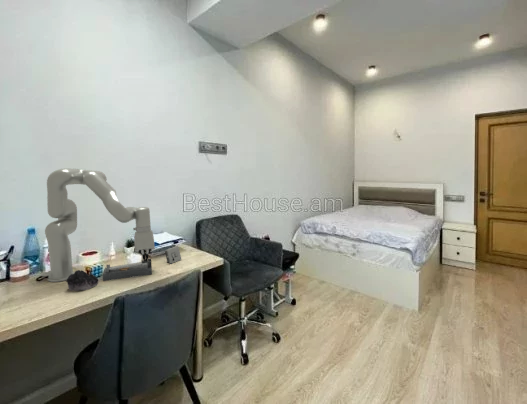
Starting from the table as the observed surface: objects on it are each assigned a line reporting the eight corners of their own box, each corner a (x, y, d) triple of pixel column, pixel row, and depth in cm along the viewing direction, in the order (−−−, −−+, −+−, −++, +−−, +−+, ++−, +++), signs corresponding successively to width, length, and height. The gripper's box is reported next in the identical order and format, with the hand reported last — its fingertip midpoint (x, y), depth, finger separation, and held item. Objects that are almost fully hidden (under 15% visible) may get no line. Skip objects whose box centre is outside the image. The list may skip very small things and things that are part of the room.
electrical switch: (170, 264, 169) (169, 249, 168) (164, 263, 172) (163, 249, 171) (181, 260, 177) (180, 246, 177) (176, 259, 180) (174, 245, 179)
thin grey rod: (106, 271, 145) (105, 267, 145) (107, 269, 148) (106, 265, 148) (149, 264, 154) (149, 260, 154) (149, 262, 157) (149, 258, 157)
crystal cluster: (96, 280, 146) (92, 262, 145) (102, 285, 136) (98, 267, 135) (66, 289, 137) (62, 270, 136) (70, 296, 127) (66, 276, 126)
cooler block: (103, 281, 143) (102, 268, 142) (105, 275, 151) (104, 263, 150) (151, 274, 152) (151, 262, 151) (151, 269, 160) (151, 257, 160)
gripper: (128, 231, 146) (130, 264, 148) (158, 229, 152) (160, 260, 154) (129, 229, 153) (131, 260, 155) (157, 226, 159) (159, 256, 161)
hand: (145, 260), depth 154 cm, fingers closed
